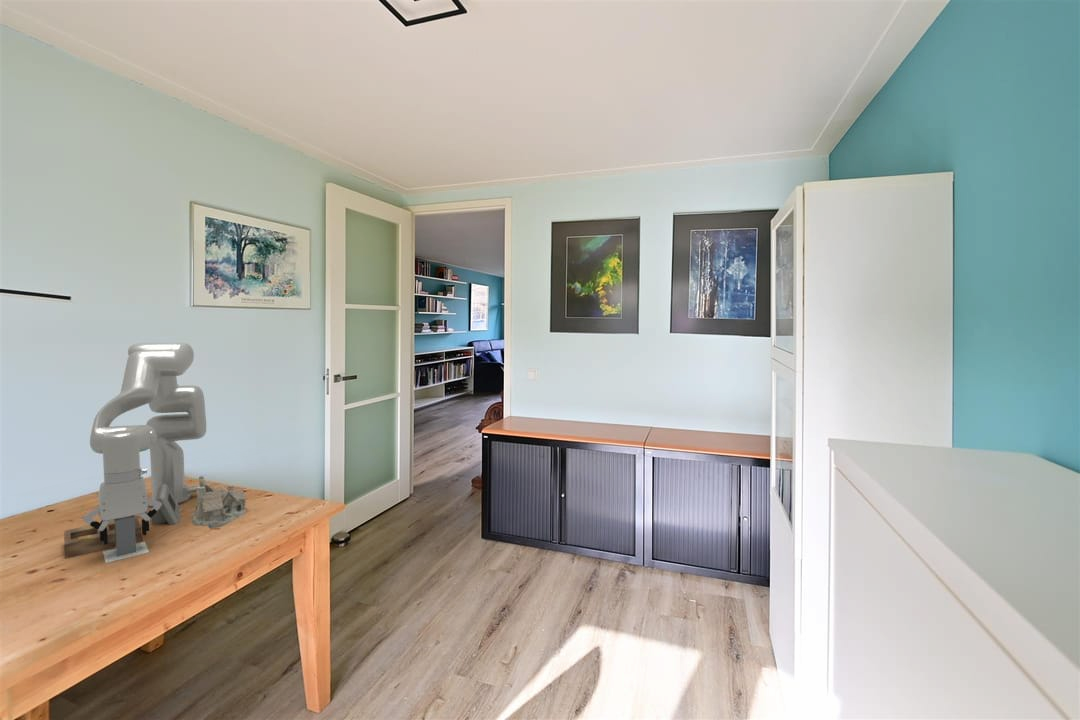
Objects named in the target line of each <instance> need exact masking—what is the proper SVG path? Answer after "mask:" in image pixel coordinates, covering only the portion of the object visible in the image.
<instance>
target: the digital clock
mask: <svg viewBox="0 0 1080 720" xmlns="http://www.w3.org/2000/svg"><path fill="white" fill-rule="evenodd" d="M156 500H157V501H159V502H161V503H162V506H161V507H160V508H159V509H158V510H157V512H156V513H155V514H154V515H153V516H152V517H151V525H157V524H163V523H167V524H168V525H170V526H172V525H173V526H174V525H177V524H179V523H180V517H181V508H180V506H179V504H178V503H177V502H176V500H175V498H174V496H173V494H172V492H171V491H170V489H169V487H168V485H166V484H163V485H161V486H160V487H159V488H158V492H157V496H156Z"/></svg>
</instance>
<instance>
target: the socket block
mask: <svg viewBox="0 0 1080 720" xmlns="http://www.w3.org/2000/svg"><path fill="white" fill-rule="evenodd" d="M106 528H107V538H108V544H106V545H104V541H101V542H100V531H99V530H98V529H96V528H94V527H92V526H90V525H85V526H81V527H76V528H71V529H64V531H63V532H64V533H63V536H64V537H63V540H64V545H63V546H64V559H69V558H73V557H77V556H82V555H85V554H89V553H90V554H91V553H95V552H98V551H105V550H109V549H111V548H112V549H113V548H116V544H115V523H114V520H110V521H109V523H108V524H107V526H106ZM135 536H136V543H139V542H143V533H142V524H141V523H140V521H139V518H138V515H135Z"/></svg>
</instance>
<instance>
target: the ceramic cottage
mask: <svg viewBox="0 0 1080 720" xmlns="http://www.w3.org/2000/svg"><path fill="white" fill-rule="evenodd" d="M198 482H199V483H198V484H199V486H200V487H199V488H198V489H197V491H196V492H195V493H196V495H197V498H196V499H197V500H196V501H197V502H196V505H195V508H194V509H195V511H194V514H193V515H192V516H191V520H192V524H193V525H194V526H196V527H206V526H207V527H208V528H209V529H210V530H211V529H215V528H219V527H222V526H225V525H228V524H229V523H231V522H233V521H235V520H236V519H239V518H241V517H243V516H244V515H246V514H247V512H246V511H247V509H246V508H245V506H246V497H245V492H244V490H243V489H238V490H234V487H233V484H228V485H227V486H228V487H227V488H226V487H223V486H222V487H220V488H219V487H218V488H215V489H214V487H212V486H210V484H208V483H207V482H206V481H205V478H204V476H203V475H200V476H199V477H198ZM243 514H244V515H243Z"/></svg>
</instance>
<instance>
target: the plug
mask: <svg viewBox="0 0 1080 720" xmlns="http://www.w3.org/2000/svg"><path fill="white" fill-rule="evenodd" d="M135 516H136V515H135ZM135 516H130V517H125V518H120V519H115V520H113V521H114V523H115V544H116V547H115V548H116V554H117V556H121V555H125V554H129V553H133V552H136V543H137V542H136V536H135Z"/></svg>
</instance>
